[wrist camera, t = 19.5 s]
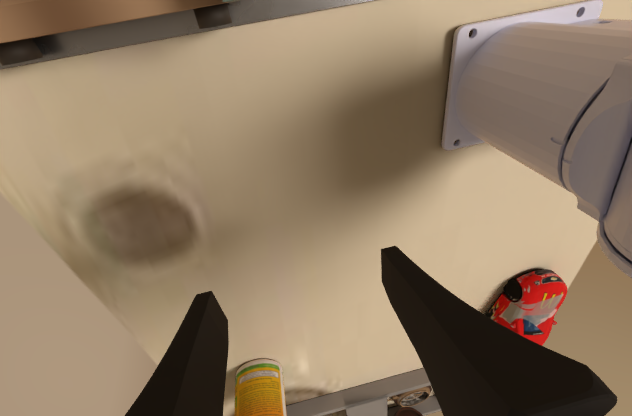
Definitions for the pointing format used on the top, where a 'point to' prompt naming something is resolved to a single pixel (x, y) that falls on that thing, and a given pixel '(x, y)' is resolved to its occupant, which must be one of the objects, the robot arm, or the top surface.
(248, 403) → the supplement bottle
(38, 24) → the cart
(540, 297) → the race car
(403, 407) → the compass
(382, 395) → the desk organiser
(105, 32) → the rails
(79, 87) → the top surface
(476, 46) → the robot arm
